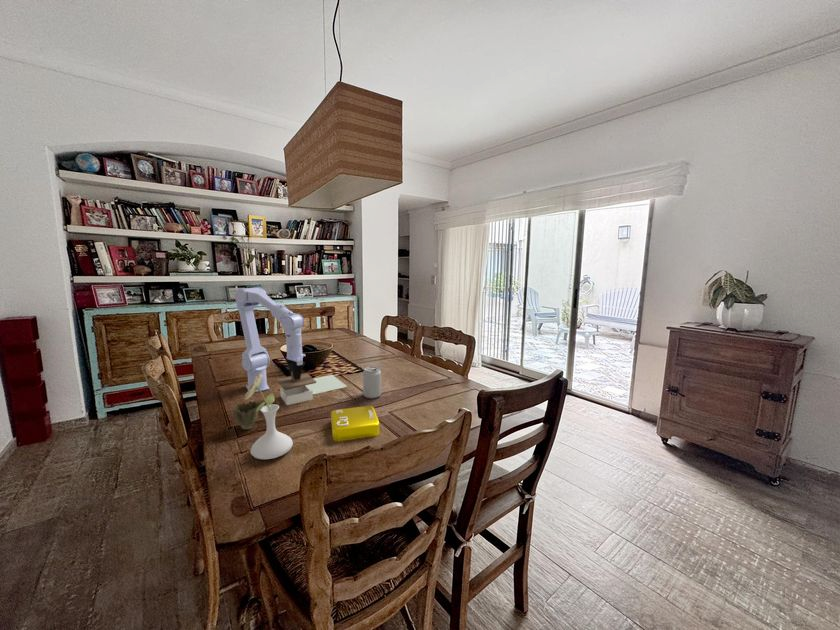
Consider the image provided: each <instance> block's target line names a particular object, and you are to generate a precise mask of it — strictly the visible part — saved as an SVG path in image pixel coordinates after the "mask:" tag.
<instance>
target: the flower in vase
mask: <svg viewBox="0 0 840 630" xmlns="http://www.w3.org/2000/svg"><path fill="white" fill-rule="evenodd" d="M262 377H263V375H261V374H259V376H258V377H256V378H255V381H254V384H253V385H250V386H249V389H250V390H249V391H248V390H247V391H246V393H245V394H244V400H246V401H247V400H250V398H251V397H252V396H253V394H254V393H256V392H255V391H256V390H257V389H258V390H259V391H258V392H259V393H260V394H261V397H262V398H263V400H264V401H263V402H262V403H260V404H259V407H258V408H257V410H256V412H257V411H258V412H259V411H260V412H261V413H262V414H263V416H264V419H265V424H266V429H265V430H266V431H265V433H264V434H263V435H262V436H260V437H259V438H258V439H256V440H255V442H254V443H253V444H252V446H251V448H250V455H251V456H253V458H255V459H258V460H271V459H276V458H279V457H282V456H283V455H285V454H287V453H288V452H289V451H290V450H291V448H292V447H293V444H294V442H293V439H292V438H291V436H289V435H287V434H285V433H283V432H280V431H278V430H277V429H276V415H277V412H278V410H279V409H280V406H279V405H278V404H275V403H274V402H275V400H276V399H275V396H274V394H273V392H270V393H269V394H268V395H267V396H266V397H265V396H264V393H263V391H261V390H260V389H259V384H260V382H261V380H262ZM273 403H274V404H273Z"/></svg>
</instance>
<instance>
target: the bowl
mask: <svg viewBox="0 0 840 630" xmlns="http://www.w3.org/2000/svg"><path fill="white" fill-rule="evenodd" d="M279 389H280V398H281V399H282V401H283V402H284V404H285V405H286V406H292V405H295V404H300V403H304V402H308V401H312V400H314V394H313V391H312V390H311V389H310V388H309V387H308V386H307V385H305V386H301V387H296V388H292V389H288V390H285V389H284V388H283V387H280V388H279Z"/></svg>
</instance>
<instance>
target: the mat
mask: <svg viewBox="0 0 840 630" xmlns="http://www.w3.org/2000/svg"><path fill="white" fill-rule="evenodd" d="M313 379H314V380H315V381H316V383H314V384H309V385H307V386H308V387H309V388H310V389H311V390H312V391H313V395H317V394H320V393H321V394H322V393H325V392H329V391H335V390H339V389H343V388H347V387H348V386H347V385H346V384H345V383H344V382H343V381H341V380H340V379H339V378H337V377H336V376H335V375H334V374H330V375H326V376H320V377H315V378H313Z"/></svg>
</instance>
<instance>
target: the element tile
mask: <svg viewBox="0 0 840 630" xmlns="http://www.w3.org/2000/svg"><path fill="white" fill-rule="evenodd" d="M330 421H331V422H330V423H331V433H332V440H333V442H344V441H352V440H358V439H357V438H360V439H366V438H365V437H367V438H372V437H377V436H378V435H380V420H379V418H378V415H377V412H376V410H375V407H374V406H372V405H365V406H364V405H363V406H355V407H347V408H339V409H334V410H332V411H331V412H330Z"/></svg>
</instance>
